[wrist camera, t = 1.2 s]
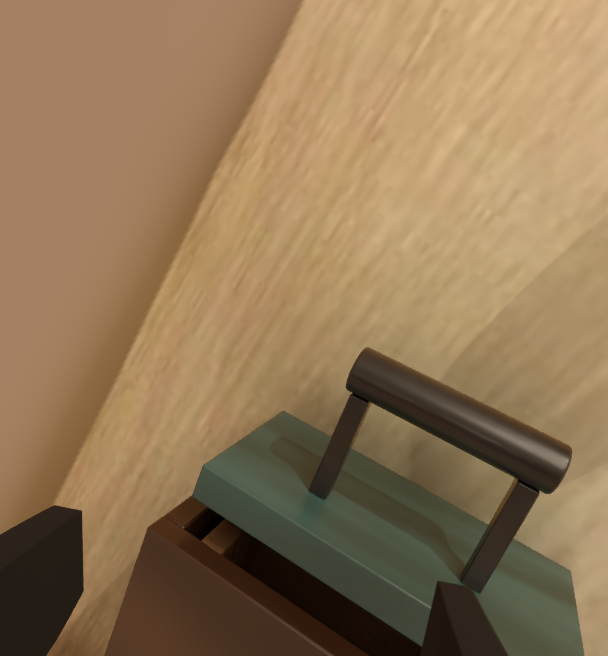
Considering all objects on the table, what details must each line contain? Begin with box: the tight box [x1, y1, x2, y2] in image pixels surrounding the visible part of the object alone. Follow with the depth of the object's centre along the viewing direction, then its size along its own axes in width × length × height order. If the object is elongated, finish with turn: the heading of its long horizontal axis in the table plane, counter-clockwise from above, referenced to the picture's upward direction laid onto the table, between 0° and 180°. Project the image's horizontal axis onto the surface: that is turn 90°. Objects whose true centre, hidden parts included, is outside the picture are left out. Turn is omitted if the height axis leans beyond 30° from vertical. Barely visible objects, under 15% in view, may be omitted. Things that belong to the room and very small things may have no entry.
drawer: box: [192, 347, 584, 656], centre depth 18 cm, size 20×11×6 cm, turn 159°
